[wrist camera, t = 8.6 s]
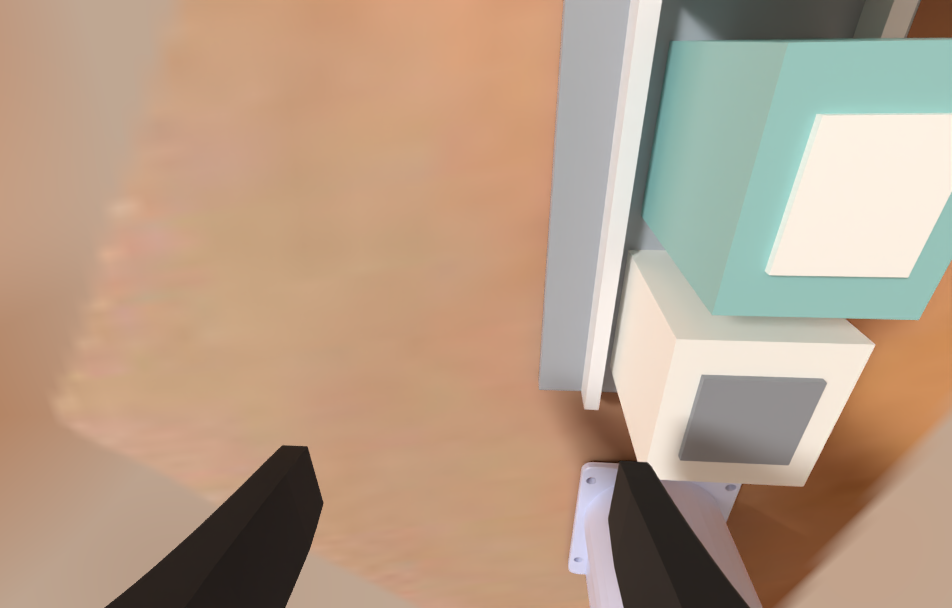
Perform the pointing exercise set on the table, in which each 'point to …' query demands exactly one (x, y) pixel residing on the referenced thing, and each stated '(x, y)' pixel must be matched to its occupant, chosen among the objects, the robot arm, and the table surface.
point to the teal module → (806, 174)
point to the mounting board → (593, 133)
